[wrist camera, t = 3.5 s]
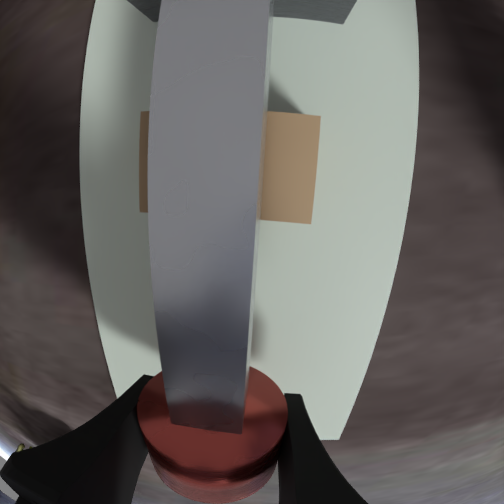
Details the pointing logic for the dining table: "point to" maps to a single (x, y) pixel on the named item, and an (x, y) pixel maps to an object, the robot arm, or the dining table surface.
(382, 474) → the dining table surface
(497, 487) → the dining table surface
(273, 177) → the brown rectangular block
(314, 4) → the block
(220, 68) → the rod
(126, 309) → the board
